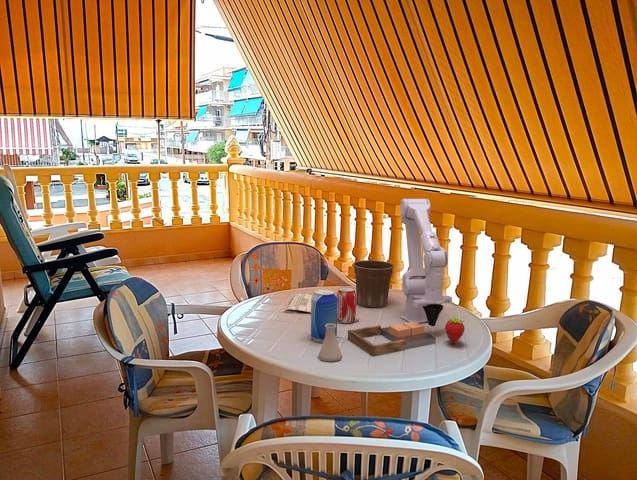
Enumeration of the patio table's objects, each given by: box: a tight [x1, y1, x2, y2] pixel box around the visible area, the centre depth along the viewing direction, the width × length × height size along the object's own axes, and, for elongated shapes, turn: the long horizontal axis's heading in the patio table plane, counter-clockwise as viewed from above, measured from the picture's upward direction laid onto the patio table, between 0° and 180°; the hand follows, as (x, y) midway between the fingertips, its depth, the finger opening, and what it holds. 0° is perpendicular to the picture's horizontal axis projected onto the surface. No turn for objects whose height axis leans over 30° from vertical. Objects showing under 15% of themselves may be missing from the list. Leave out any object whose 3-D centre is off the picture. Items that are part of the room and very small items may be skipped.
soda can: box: [336, 286, 357, 324], centre depth 182 cm, size 7×7×12 cm
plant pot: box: [352, 259, 395, 309], centre depth 203 cm, size 16×16×16 cm
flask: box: [317, 324, 343, 363], centre depth 151 cm, size 7×7×10 cm
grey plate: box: [380, 326, 437, 350], centre depth 167 cm, size 12×14×2 cm
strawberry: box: [445, 314, 466, 345], centre depth 163 cm, size 6×8×10 cm
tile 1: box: [388, 323, 411, 338], centre depth 166 cm, size 5×5×2 cm
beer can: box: [310, 288, 338, 344], centre depth 165 cm, size 8×8×16 cm
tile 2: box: [402, 321, 426, 335], centre depth 168 cm, size 5×5×2 cm
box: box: [347, 324, 407, 357], centre depth 162 cm, size 12×15×3 cm
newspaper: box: [284, 293, 313, 314], centre depth 201 cm, size 23×12×2 cm, turn 174°
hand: (431, 325), depth 171 cm, fingers closed
